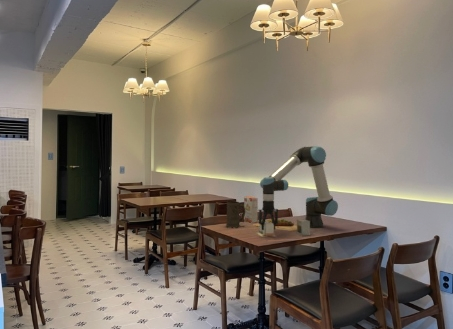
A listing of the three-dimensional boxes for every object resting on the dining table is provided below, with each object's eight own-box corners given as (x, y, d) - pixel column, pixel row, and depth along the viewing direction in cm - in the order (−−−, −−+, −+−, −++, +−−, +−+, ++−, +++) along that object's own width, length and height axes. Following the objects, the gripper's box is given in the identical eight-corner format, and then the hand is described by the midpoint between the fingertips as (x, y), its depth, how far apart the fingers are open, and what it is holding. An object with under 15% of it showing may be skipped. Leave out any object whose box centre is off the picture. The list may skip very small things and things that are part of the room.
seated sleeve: (266, 231, 256) (266, 220, 256) (269, 233, 251) (269, 222, 251) (258, 232, 255) (258, 221, 255) (261, 233, 249) (261, 222, 249)
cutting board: (251, 226, 288) (251, 217, 287) (271, 223, 302) (271, 214, 302) (285, 233, 261) (285, 223, 260) (305, 229, 276) (305, 219, 275)
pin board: (269, 233, 258) (269, 224, 257) (277, 238, 242) (277, 228, 242) (254, 234, 255) (254, 225, 255) (262, 239, 239) (262, 229, 239)
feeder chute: (304, 233, 259) (304, 219, 259) (309, 235, 251) (309, 221, 251) (296, 233, 257) (296, 219, 257) (301, 235, 250) (301, 221, 249)
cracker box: (243, 220, 312) (243, 196, 312) (250, 220, 315) (250, 196, 314) (251, 223, 299) (251, 198, 299) (257, 222, 302) (257, 197, 301)
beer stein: (228, 228, 277) (229, 202, 277) (223, 225, 287) (224, 200, 287) (246, 228, 283) (248, 202, 283) (240, 225, 293) (242, 201, 293)
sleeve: (273, 235, 242) (273, 223, 242) (265, 235, 241) (265, 223, 240) (270, 233, 247) (270, 222, 247) (263, 234, 246) (263, 222, 246)
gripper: (279, 199, 249) (279, 232, 250) (253, 200, 245) (253, 234, 246) (283, 200, 242) (283, 234, 243) (257, 201, 238) (257, 236, 238)
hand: (268, 234), depth 244 cm, fingers closed on sleeve, 5 cm apart
